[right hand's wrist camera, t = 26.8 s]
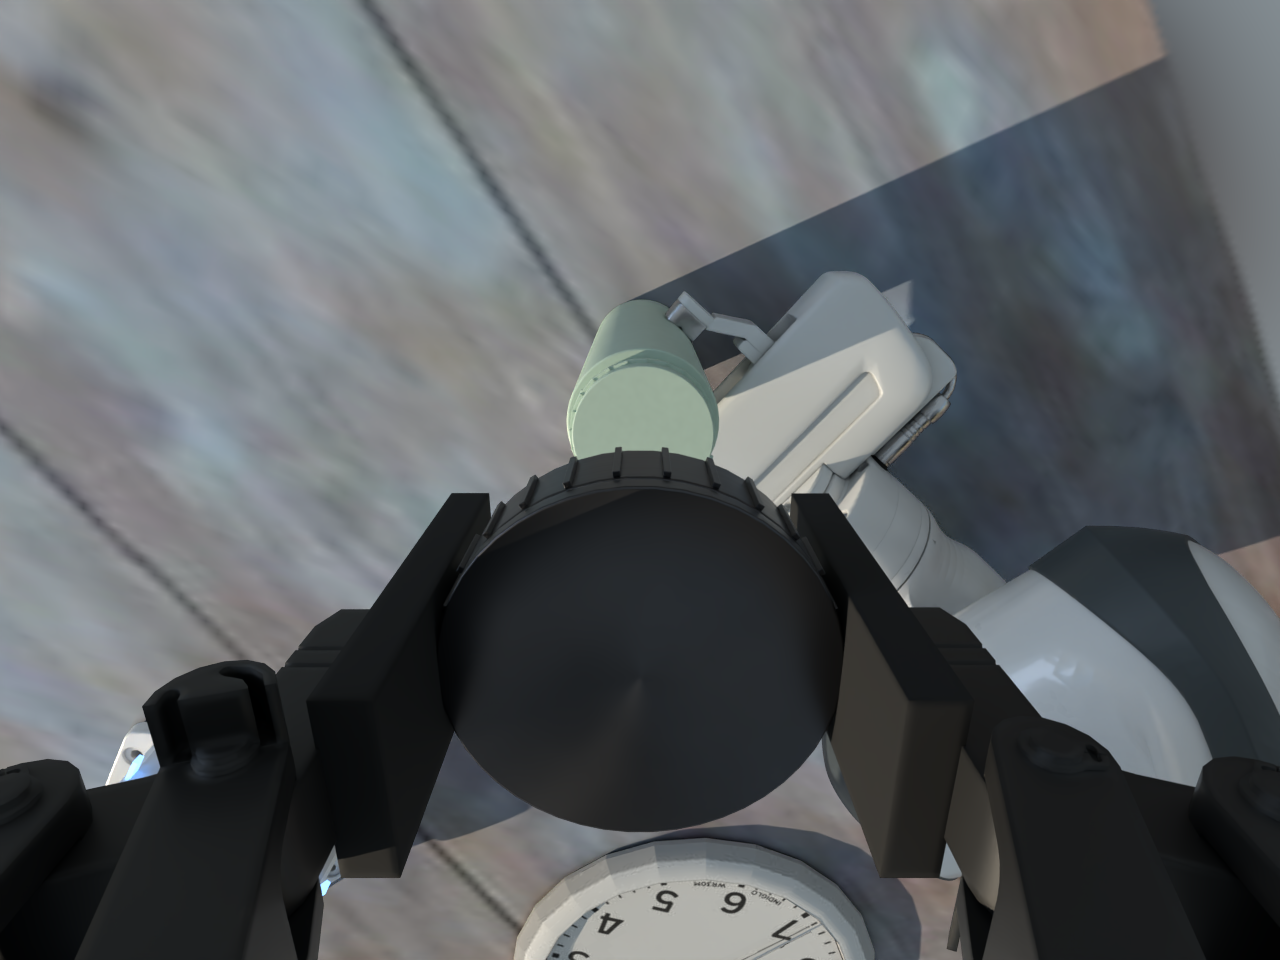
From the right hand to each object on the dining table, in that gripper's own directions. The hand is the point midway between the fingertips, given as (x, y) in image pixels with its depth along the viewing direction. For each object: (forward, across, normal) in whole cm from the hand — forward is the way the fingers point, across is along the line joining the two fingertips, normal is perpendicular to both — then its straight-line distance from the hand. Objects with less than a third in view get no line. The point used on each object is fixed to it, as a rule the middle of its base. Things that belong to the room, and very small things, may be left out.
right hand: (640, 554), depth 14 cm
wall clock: (+27, +4, -52) cm, 59 cm away
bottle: (+27, 0, 0) cm, 27 cm away
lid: (-4, 0, 0) cm, 4 cm away
